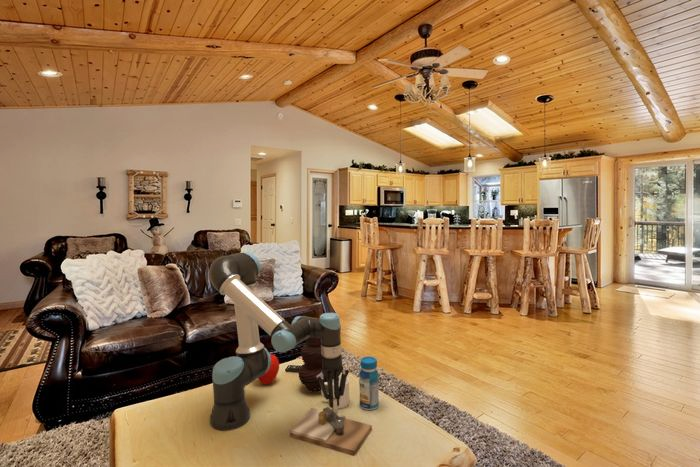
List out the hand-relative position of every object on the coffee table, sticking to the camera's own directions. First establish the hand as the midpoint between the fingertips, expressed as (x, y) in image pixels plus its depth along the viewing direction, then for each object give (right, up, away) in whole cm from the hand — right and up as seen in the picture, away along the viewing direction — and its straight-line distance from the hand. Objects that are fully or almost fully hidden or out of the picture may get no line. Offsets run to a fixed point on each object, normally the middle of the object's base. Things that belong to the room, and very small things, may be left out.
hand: (334, 414), depth 145 cm
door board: (-1, -5, -4) cm, 6 cm away
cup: (0, -3, +17) cm, 17 cm away
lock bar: (0, -3, -3) cm, 4 cm away
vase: (-10, -2, +30) cm, 31 cm away
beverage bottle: (+14, -3, +14) cm, 20 cm away
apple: (-33, -2, +36) cm, 49 cm away
